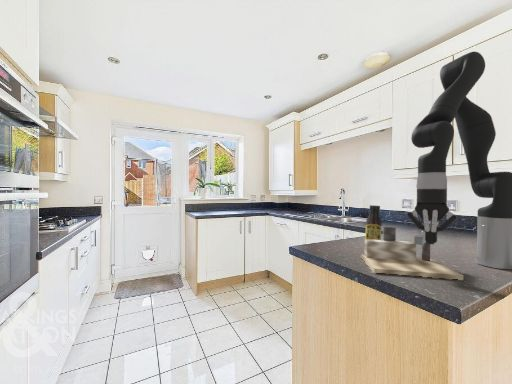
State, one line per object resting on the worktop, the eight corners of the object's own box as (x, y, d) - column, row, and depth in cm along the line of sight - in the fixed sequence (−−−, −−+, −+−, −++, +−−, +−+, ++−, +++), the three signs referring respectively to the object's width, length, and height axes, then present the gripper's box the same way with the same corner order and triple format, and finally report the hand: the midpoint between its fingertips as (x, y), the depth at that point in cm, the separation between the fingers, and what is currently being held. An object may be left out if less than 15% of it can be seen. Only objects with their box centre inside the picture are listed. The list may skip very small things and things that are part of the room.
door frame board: (430, 262, 87) (431, 228, 87) (463, 280, 69) (464, 237, 69) (360, 257, 91) (361, 225, 91) (374, 273, 74) (374, 233, 74)
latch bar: (421, 237, 86) (422, 230, 86) (432, 238, 84) (432, 231, 84) (412, 243, 74) (412, 236, 74) (423, 245, 72) (424, 237, 72)
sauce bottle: (364, 251, 102) (364, 205, 102) (365, 248, 108) (365, 204, 108) (381, 253, 99) (382, 205, 99) (381, 250, 105) (382, 205, 105)
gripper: (460, 188, 72) (460, 245, 71) (409, 188, 81) (409, 239, 81) (458, 187, 66) (457, 249, 66) (403, 187, 76) (403, 242, 75)
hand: (431, 243), depth 73 cm, fingers closed
